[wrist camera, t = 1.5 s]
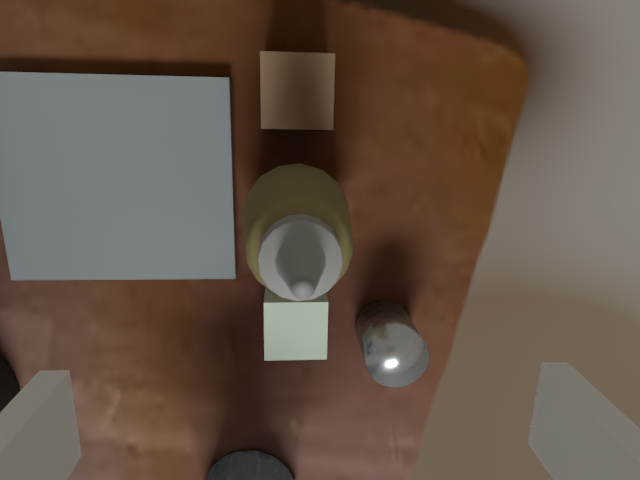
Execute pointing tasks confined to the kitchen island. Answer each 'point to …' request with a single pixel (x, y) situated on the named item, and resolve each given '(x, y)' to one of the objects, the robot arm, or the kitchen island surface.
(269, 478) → the moka pot
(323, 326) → the sage block
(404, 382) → the grey metal cylinder
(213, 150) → the light grey rectangular plate
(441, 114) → the kitchen island surface
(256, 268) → the squeeze bottle
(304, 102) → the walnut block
